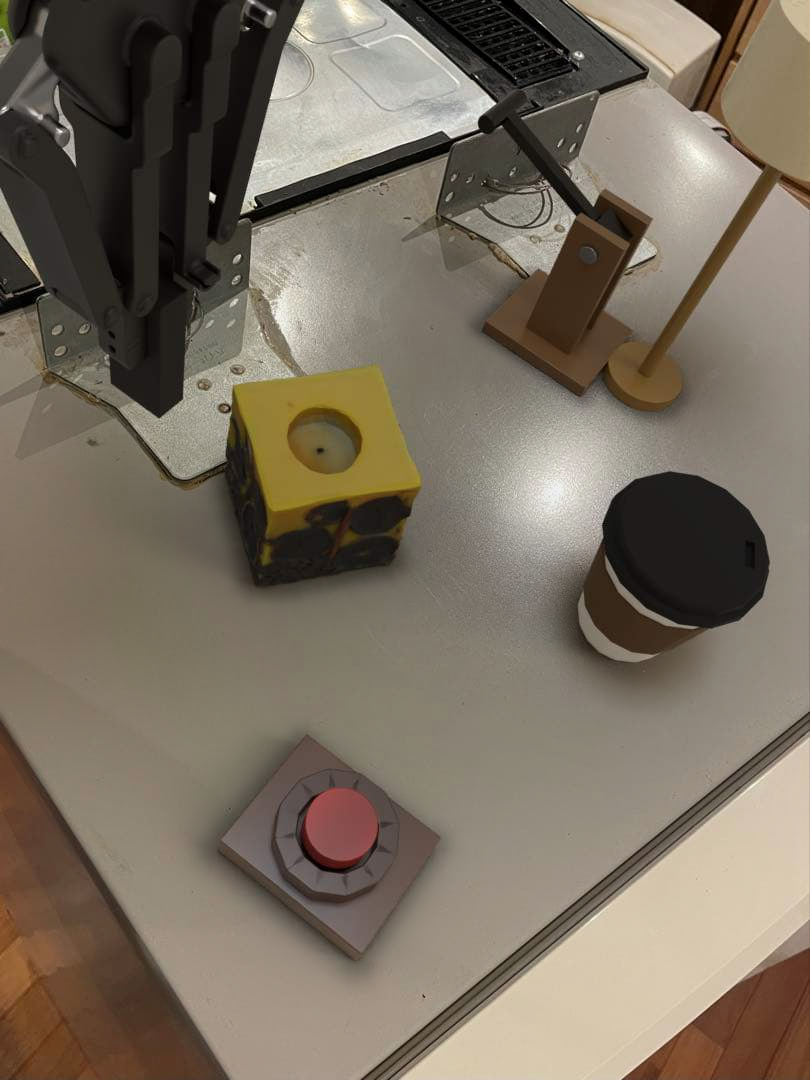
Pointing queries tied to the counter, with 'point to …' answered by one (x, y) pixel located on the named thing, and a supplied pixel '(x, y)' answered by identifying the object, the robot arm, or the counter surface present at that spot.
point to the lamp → (786, 146)
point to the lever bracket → (573, 301)
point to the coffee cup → (670, 566)
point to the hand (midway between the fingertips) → (147, 391)
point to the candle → (318, 474)
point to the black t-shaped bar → (545, 160)
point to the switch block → (302, 883)
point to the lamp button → (339, 828)
